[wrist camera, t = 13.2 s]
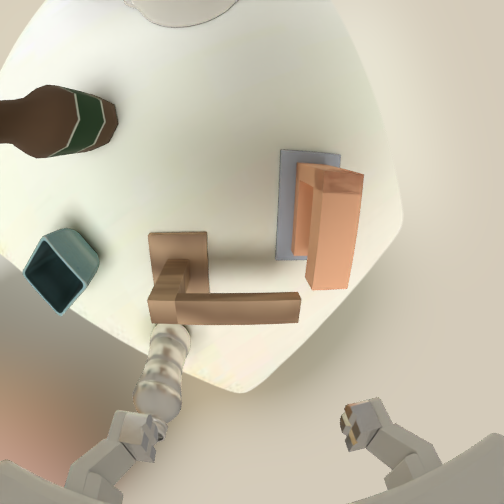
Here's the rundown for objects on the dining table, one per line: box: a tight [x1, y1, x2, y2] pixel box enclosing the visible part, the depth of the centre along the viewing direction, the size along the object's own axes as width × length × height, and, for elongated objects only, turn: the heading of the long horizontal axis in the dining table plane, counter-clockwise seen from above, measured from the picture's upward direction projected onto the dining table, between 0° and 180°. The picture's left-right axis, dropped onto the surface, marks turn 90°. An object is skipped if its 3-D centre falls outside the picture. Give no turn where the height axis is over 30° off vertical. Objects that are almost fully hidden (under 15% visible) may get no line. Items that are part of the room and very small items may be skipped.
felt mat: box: [275, 150, 341, 260], centre depth 36 cm, size 15×8×1 cm, turn 179°
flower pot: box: [23, 228, 99, 316], centre depth 32 cm, size 9×9×9 cm
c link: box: [291, 162, 364, 290], centre depth 30 cm, size 12×4×11 cm, turn 179°
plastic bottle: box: [133, 324, 191, 442], centre depth 33 cm, size 6×7×20 cm
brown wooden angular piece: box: [147, 232, 301, 325], centre depth 33 cm, size 10×18×12 cm, turn 89°
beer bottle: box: [0, 85, 118, 158], centre depth 18 cm, size 8×8×24 cm
